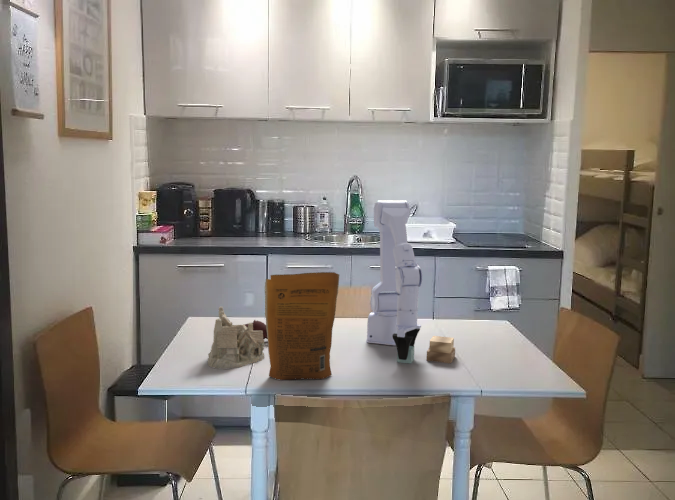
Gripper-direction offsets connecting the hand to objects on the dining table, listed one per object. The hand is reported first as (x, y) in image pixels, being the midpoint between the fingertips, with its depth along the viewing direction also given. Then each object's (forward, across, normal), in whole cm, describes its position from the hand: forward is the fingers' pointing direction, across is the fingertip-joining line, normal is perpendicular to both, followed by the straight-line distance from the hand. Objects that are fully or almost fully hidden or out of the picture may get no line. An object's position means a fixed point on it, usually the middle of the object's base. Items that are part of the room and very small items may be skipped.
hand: (405, 355), depth 195 cm
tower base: (+2, +6, -9) cm, 11 cm away
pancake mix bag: (+2, -25, +22) cm, 33 cm away
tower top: (-1, +6, -9) cm, 11 cm away
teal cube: (+2, 0, 0) cm, 2 cm away
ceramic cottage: (+2, -18, +44) cm, 48 cm away
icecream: (+2, +1, +48) cm, 48 cm away
